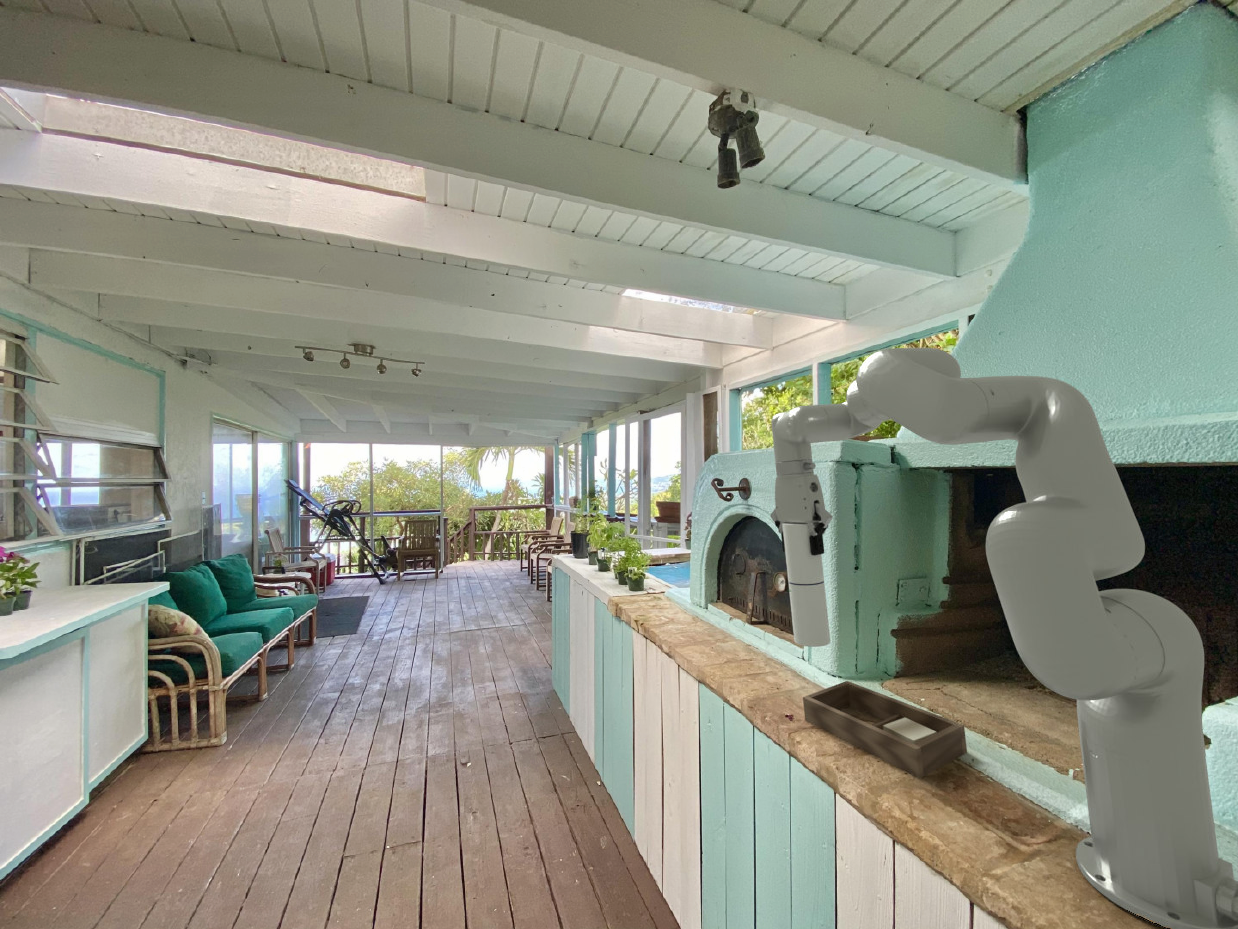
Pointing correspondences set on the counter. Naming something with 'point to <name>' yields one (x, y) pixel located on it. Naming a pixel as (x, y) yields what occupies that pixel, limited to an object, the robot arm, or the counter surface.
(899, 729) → the offcut top
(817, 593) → the cylindrical container
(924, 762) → the tray
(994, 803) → the counter surface
